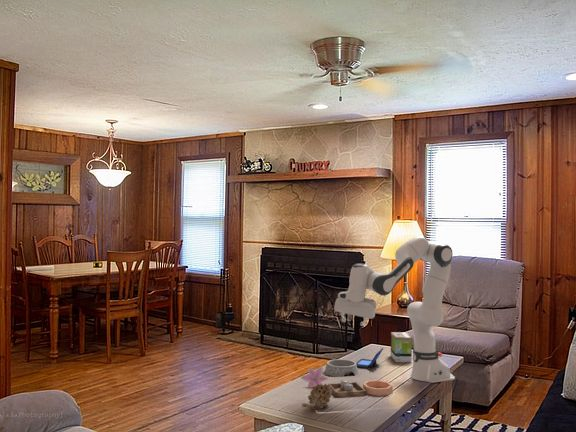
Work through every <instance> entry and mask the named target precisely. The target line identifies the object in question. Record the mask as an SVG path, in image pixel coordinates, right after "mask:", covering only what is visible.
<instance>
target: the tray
mask: <svg viewBox="0 0 576 432" xmlns="http://www.w3.org/2000/svg"><path fill="white" fill-rule="evenodd" d="M349 384H352V385H353V391H346V392H344V391H343V390H341V382H336V383H334V382H333V383H327V385H328V387H330V389H332V391H331V392H332V393H331V394H333V396H335V398H345V397H357V396H361V397H362V396H367V393H366V390H365V389H364V388H363V386H362V385H360V383H358V382H357V381H353V382H352V381H351V382H350V381H349Z"/></svg>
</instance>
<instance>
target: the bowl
mask: <svg viewBox="0 0 576 432" xmlns="http://www.w3.org/2000/svg"><path fill="white" fill-rule="evenodd" d="M393 387H394V385H393V384H391V382H388V381H384V380H378V379H377V380H367V381H365V382H363V383H362V388H364V389H365V390H366V395H367V394H368V395H372V396H379V397H381V396H389V395H391V394H392V395H393V392H394V389H393Z"/></svg>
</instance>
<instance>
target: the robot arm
mask: <svg viewBox="0 0 576 432" xmlns="http://www.w3.org/2000/svg"><path fill="white" fill-rule="evenodd" d="M394 253H395V254H394V257H395V260H396V262H397V265H396V266H395V267H394V268H393V269H392V270H391V271H389V272H387V273H381V272H378V271H376V270H374V269H372V268H370V267H369V265H368V264H366V263H355V264H353V265H352V266H351V269H350V275H349V281H348V282H349V286H348V289H347V290H346V291H340V292H339V293H337V294H338V295H337V298H336V300H335V303H334V306H333V310H334V311H335V312H336V313H337V312H339V313H340V317H341V322H343V323H346V321H347V318H346V317H345V316H344V315H345V314H346V315H352V316H356V317H361V318H363V321H361V322H360V324H359V325H360V326H361V327H364V326H365V323H366V321H367V320H368V319H369V320H370V319H371V320H372V319H374V318H375V316H376V308H377V302H376V300H375V299H374V298H373V299H370V298H368V297H366V296H367V295H366V294H367V293H366V292H367V290H369V291H371V292H374V293H376V294H378V295H380V296H383V297H384V296H388V295H390V294H391V292H392V291H394V289H395V287H396V286H397V284H398V283H399V282H400V281H401V280H402V279H403V278H404V277H405V276H406V275H407V274H408V273H409V272H410V271H411V270H412V269H413V267H414V265H415V264H416V263H417V262H418V261H419V260H421V261H423V262H426V263H429V265H430V267H429V270H428V273H427V274H426V278H425V280H424V283H423V285H422V289H421V292H422V294H423V296H422V297H423V298H422V301H413V302H411V303H409V304H408V305H407V308H406V315H407V316H408V318H409V320H410V324H411V328H412V329H411V330H412V332H413V333H412V334H413V349H412V369H411V373H410V378H412V379H413V380H417V381H421V382H428V383H439V382H440V383H441V382H447V381H454V380H455V379H456V378H455V375H453V374H452V373H451V370H450V369H451V368H450V367H449V365H448V364H447V363H446V362H444V361H443V360H442V359H441V357H442V356H443V353H442V352H439V351H437V350H436V335H435V333H434V330H433V327H439V326H440V325H441V324H442V323H443V322H444V316H445V315H444V313H443V309H442V307H443V305H442V303H443V299H444V298H443V297H444V294H445V292H446V288H447V285H448V282H449V279H450V275H451V271H452V267H451V263H452V259H453V249H452V248H451V246H450V245H448V244H445V243H441V242H437V241H428V239H427V238H426V237H424V236H421V235H417V236H415V237H413V238H411V239H409V240H408V241H406V242H404V243H403V244H402V245H400V246H399V247H398V248H397V249H396V251H395V252H394ZM439 357H440V358H439Z"/></svg>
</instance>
